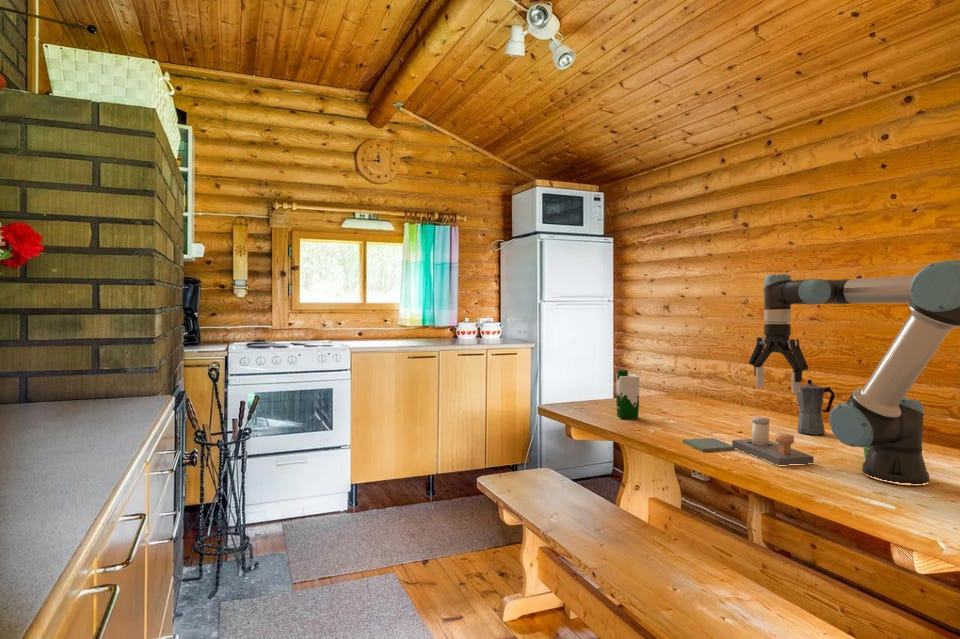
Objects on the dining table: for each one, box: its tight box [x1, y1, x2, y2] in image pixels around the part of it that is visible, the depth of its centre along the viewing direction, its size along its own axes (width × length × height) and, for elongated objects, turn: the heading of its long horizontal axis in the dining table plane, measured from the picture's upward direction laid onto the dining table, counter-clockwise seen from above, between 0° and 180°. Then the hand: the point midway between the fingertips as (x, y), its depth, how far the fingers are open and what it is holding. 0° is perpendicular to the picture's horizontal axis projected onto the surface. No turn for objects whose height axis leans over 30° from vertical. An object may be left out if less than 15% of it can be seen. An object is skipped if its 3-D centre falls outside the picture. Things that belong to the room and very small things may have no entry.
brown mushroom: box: [775, 433, 795, 455], centre depth 172 cm, size 5×5×6 cm
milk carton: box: [615, 369, 640, 420], centre depth 234 cm, size 9×9×20 cm
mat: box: [682, 437, 736, 453], centre depth 190 cm, size 12×12×1 cm
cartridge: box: [751, 416, 770, 447], centre depth 183 cm, size 5×5×11 cm
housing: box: [731, 438, 815, 465], centre depth 178 cm, size 22×12×2 cm, turn 11°
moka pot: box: [795, 379, 836, 436], centre depth 207 cm, size 10×15×20 cm, turn 33°
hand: (777, 389), depth 177 cm, fingers open, 13 cm apart
